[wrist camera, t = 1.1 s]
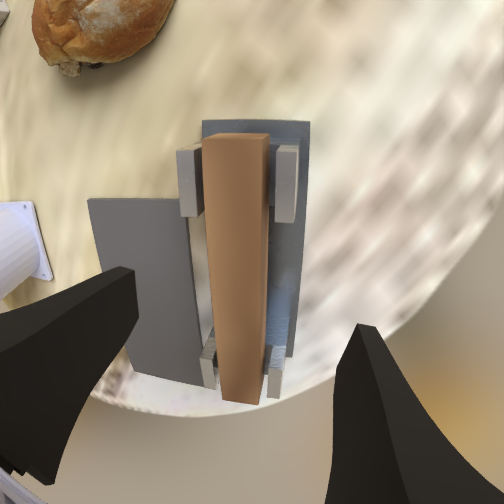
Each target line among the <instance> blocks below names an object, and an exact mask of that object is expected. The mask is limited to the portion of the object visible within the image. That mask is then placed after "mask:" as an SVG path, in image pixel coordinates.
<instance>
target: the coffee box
mask: <svg viewBox="0 0 504 504" xmlns="http://www.w3.org/2000/svg"><path fill="white" fill-rule="evenodd" d="M9 12H10V11H9V8H8V6H7V3H6V1H5V0H0V26H1V24H2V23H3V21H4V20H5V18H6V17H7V15H8V14H9Z"/></svg>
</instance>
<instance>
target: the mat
mask: <svg viewBox="0 0 504 504" xmlns="http://www.w3.org/2000/svg"><path fill="white" fill-rule="evenodd" d="M87 203H88V209H89V214H90V220H91V225H92V230H93V234H94V239H95V244H96V248H97V252H98V256H99V261H100V265H101V269H102V272H105V271H107V270H110V269H112V268H115V267H118V266H122V267H126V268H129V269H133V270H135V279H136V290H137V300H138V309H139V319H138V321H137V323H136V325H135V327H134V329H133V331H132V332H131V334H130V336H129V338H128V340H127V341H126V343H125V344H124V345H125V348H126V350H127V353H128V356H129V359H130V361H131V364H132V367H133V369H134V371H136V372H140V373H144V374H148V375H152V376H156V377H160V378H164V379H168V380H173V381H177V382H182V383H187V384H192V385H197V386H202V387H204V381H203V376H202V370H201V364H200V356H201V354H202V351H203V345H202V339H201V332H200V324H199V317H198V309H197V301H196V293H195V285H194V276H193V267H192V258H191V248H190V238H189V227H188V217H181V211H180V200H179V199H147V198H90V199H88V200H87Z"/></svg>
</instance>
